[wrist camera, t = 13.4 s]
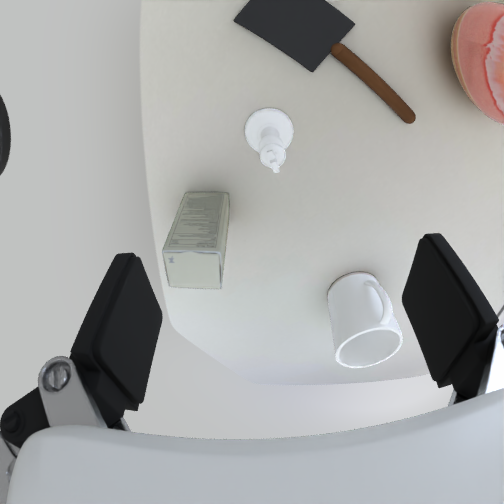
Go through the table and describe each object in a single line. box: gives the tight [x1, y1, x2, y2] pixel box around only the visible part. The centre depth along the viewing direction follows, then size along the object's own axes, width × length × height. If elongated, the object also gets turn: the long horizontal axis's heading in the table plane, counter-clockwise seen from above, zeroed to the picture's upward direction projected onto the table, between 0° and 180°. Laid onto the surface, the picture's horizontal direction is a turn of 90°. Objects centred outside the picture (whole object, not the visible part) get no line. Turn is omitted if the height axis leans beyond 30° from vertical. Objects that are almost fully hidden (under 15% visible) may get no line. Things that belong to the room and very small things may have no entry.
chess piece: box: [245, 108, 294, 173], centre depth 24 cm, size 5×5×10 cm
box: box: [162, 192, 229, 289], centre depth 30 cm, size 5×4×11 cm
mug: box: [327, 272, 403, 368], centre depth 37 cm, size 11×9×10 cm
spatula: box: [234, 0, 416, 124], centre depth 22 cm, size 20×7×2 cm, turn 55°
